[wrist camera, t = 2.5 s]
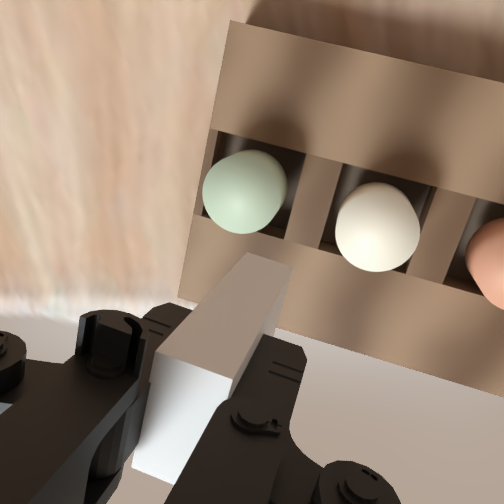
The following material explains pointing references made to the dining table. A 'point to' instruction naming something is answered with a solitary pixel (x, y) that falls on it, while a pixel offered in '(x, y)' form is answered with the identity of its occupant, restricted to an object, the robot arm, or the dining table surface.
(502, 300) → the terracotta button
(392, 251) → the white egg
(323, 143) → the wooden egg tray
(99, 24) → the dining table surface
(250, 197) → the pale green egg
